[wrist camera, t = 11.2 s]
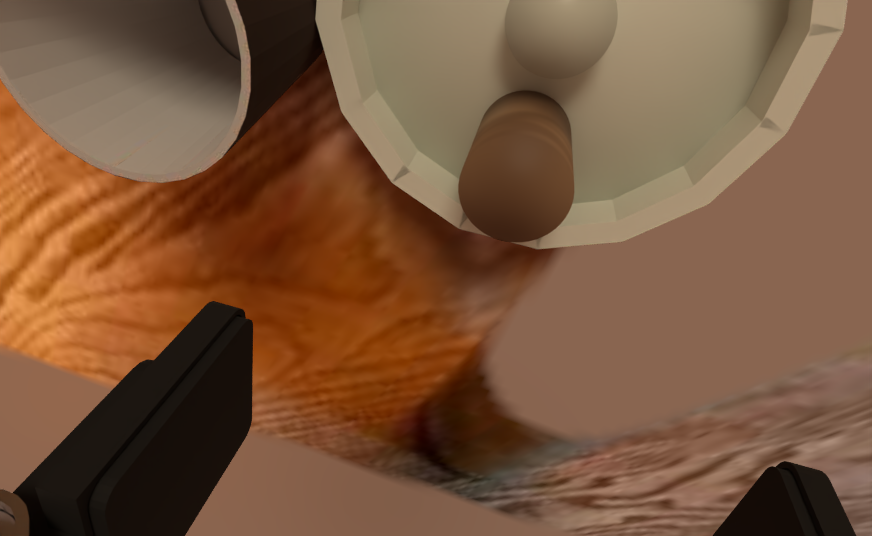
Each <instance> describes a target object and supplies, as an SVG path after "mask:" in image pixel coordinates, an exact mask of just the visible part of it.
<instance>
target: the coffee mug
mask: <svg viewBox="0 0 872 536" xmlns="http://www.w3.org/2000/svg"><path fill="white" fill-rule="evenodd" d="M316 3H317V0H0V79H1V80H2V82H3V84H4V85H5V86H6V88H7V89H8V90H9V92H10V93H11V95H12V96H13V97H14V99H15V100H16V101H17V103H18V104H19V105H20V107H21V108H22V109H23V110H24V111H25V112H26V113H27V114H28V115H29V116H30V118H31V119H32V120H33V121H34V122H35V123H36V124H37V125H38V126H39V127H40V128H41V129H42V130H43V131H44V132H45V133H46V134H48V135H49V136H50V137H51V138H52V139H54V140H55V141H56V142H57V143H59V144H60V145H61V146H62V147H64V148H65V149H66V150H67V151H69V152H71V153H72V154H74V155H75V156H77V157H79V158H80V159H82V160H84V161H85V162H87V163H88V164H90V165H92V166H94V167H97V168H99V169H101V170H104V171H106V172H108V173H111V174H113V175H115V176H119V177H123V178H127V179H131V180H135V181H140V182H157V183H165V182H171V181H177V180H184V179H187V178H189V177H191V176H194V175H196V174H199V173H201V172H203V171H205V170H207V169H208V168H209V167H210V166H212V165H213V164H214V163H216V162H217V161H218V160H220V159H221V158H222V157H223V156H224V155H225V154H226V153H227V152H228V151H229V150H230V149H231V148H232V147H233V146H234V145H235V144H236V142H237V141H238V140H239V139H240V138H241V137H242V136H243V135H244V134H245V133H246V132H247V131H248V130H249V129H250V128H251V127H252V126H253V125H254V124H255V123H256V122H257V121H258V120H259V119H260V117H261V116H262V115H263V114H264V113H265V112H266V111H267V110H268V109H269V108H270V107H271V106H272V105H273V104H274V103H275V102H276V101H277V100H278V99H279V98H280V97H281V96H282V95H283V94H284V92H285V91H286V90H287V89H288V88H289V87H290V86H291V85H292V84H293V83H294V82H295V81H296V80H297V79H298V78H299V77H300V76H301V75H302V74H303V73H304V72H305V71H306V70H307V69H308V67H309V66H310V65H311V64H312V63H313V62H314V61H315V60H316V59H317V57H318V56H319V55H320V54H321V52H322V51H323V49H324V48H323V45H322V41H321V38H320V34H319V31H318V27H317V23H316V20H315V18H316Z"/></svg>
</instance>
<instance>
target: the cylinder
mask: <svg viewBox="0 0 872 536" xmlns="http://www.w3.org/2000/svg"><path fill="white" fill-rule="evenodd" d="M458 193H459V200H460V203H461V206H462V209H463V211H464V213H465V214H466V216H467V218H468V219H469V220H470V222H471V223H472V224H473V225H474V226H475V227H476V228H478V229H479V230H480V231H481V232H483V233H485V234H486V235H488V236H490V237H492V238H495V239H498V240H501V241H506V242H528V241H532V240H536V239H539V238H541V237H543V236H545V235H547V234H549V233H550V232H552V231H553V230H555V229H556V228H557V227H558V226H559V225H560V224H561V223H562V222H563V220H564V219H565V218H566V216H567V215H568V213H569V211H570V209H571V206H572V203H573V199H574V171H573V154H572V137H571V127H570V122H569V119H568V117H567V115H566V113H565V111H564V110H563V108H562V107H561V106H560V105H559V104H558V103H557V102H556V101H555V100H554V99H552V98H551V97H549V96H547V95H545V94H543V93H540V92H536V91H530V90H522V91H516V92H512V93H509V94H506V95H504V96H502V97H501V98H499V99H498V100H496V101H495V102H494V103H493V104H492V105H491V106H490V107H489V108H488V109H487V111H486V112H485V114H484V116H483V118H482V120H481V123H480V125H479V128H478V130H477V133H476V135H475V138H474V140H473V143H472V146H471V148H470V151H469V153H468V156H467V158H466V161H465V163H464V166H463V168H462V171H461V174H460V177H459V184H458Z"/></svg>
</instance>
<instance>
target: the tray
mask: <svg viewBox="0 0 872 536" xmlns="http://www.w3.org/2000/svg"><path fill="white" fill-rule="evenodd" d="M847 1H848V0H317V3H316V18H315V20H316V23H317V27H318V31H319V34H320V38H321V41H322V45H323V48H324V52H325V55H326V59H327V62H328V66H329V70H330V73H331V77H332V80H333V84H334V87H335V91H336V94H337V98H338V101H339V105H340V109H341V112H342V114H343V115H344V116H345V118H346V119H347V121H348V122H349V123H350V125H351V126H352V128H353V129H354V130H355V132H356V133H357V135H358V136H359V137H360V139H361V140H362V142H363V143H364V144H365V146H366V147H367V149H368V150H369V151H370V153H371V154H372V156H373V157H374V158H375V160H376V161H377V163H378V164H379V165H380V167H381V168H382V170H383V171H384V172H385V174H386V175H387V177H388V178H389V179H390V181H391V182H392V183H393V184H394V185H396V186H397V187H399V188H400V189H402V190H403V191H405V192H406V193H408V194H409V195H410V196H412V197H413V198H415V199H416V200H418V201H419V202H421V203H422V204H424V205H425V206H426V207H428V208H429V209H431V210H432V211H434V212H435V213H437V214H438V215H440V216H441V217H442V218H444V219H445V220H447V221H448V222H450V223H451V224H453V225H454V226H456V227H457V228H458V229H461V230H465V231H469V232H473V233H477V234H481V235H485V236H488V235H486V234H485V233H483V232H481V231H480V230H479V229H478V228H476V227H475V226H474V225H473V224H472V223H471V222H470V220H469V219H468V218H467V216H466V214H465V213H464V211H463V209H462V206H461V203H460V200H459V193H458V184H459V177H460V174H461V171H462V168H463V166H464V163H465V161H466V158H467V156H468V153H469V151H470V148H471V146H472V143H473V140H474V138H475V135H476V133H477V130H478V128H479V125H480V123H481V120H482V118H483V116H484V114H485V112H486V111H487V109H488V108H489V107H490V106H491V105H492V104H493V103H494V102H495V101H496V100H498V99H499V98H501V97H502V96H504V95H506V94H509V93H512V92H516V91H522V90H530V91H536V92H540V93H543V94H545V95H547V96H549V97H551V98H552V99H554V100H555V101H556V102H557V103H558V104H559V105H560V106H561V107H562V108H563V110H564V111H565V113H566V115H567V117H568V119H569V122H570V127H571V137H572V154H573V171H574V199H573V203H572V206H571V209H570V211H569V213H568V215H567V216H566V218H565V219H564V220H563V222H562V223H561V224H560V225H559V226H558V227H557V228H556V229H555V230H553V231H552V232H550V233H549V234H547V235H545V236H543V237H541V238H539V239H536V240H532V241H528V242H512V243H515V244H519V245H523V246H527V247H531V248H535V249H546V248H558V247H569V246H581V245H591V244H592V245H593V244H604V243H615V242H623V241H626V240H628V239H630V238H633V237H635V236H637V235H640V234H642V233H644V232H646V231H648V230H651V229H653V228H656V227H658V226H660V225H662V224H665V223H667V222H669V221H671V220H674V219H676V218H678V217H680V216H683V215H685V214H687V213H689V212H691V211H694V210H696V209H699V208H701V207H703V206H706V205H708V204H709V203H710V202H712V201H713V200H714V199H715V198H716V197H717V196H718V195H719V194H720V193H722V191H724V190H725V189H726V188H727V187H728V186H729V185H730V184H731V183H732V182H734V181H735V180H736V179H737V178H738V177H739V176H740V175H741V174H742V173H744V172H745V171H746V170H747V169H748V168H749V167H750V166H751V165H752V164H754V163H755V162H756V161H757V160H758V159H759V158H760V157H761V156H762V155H763V154H764V153H766V152H767V151H768V150H769V149H770V148H771V147H772V146H773V145H774V144H776V143H777V142H778V141H779V140H780V139H781V138H782V137H783V136H784V135H786V133H787V132H788V130H789V128H790V127H791V125H792V123H793V121H794V119H795V117H796V116H797V114H798V112H799V110H800V108H801V107H802V105H803V103H804V101H805V99H806V97H807V96H808V94H809V92H810V90H811V88H812V87H813V85H814V83H815V81H816V79H817V77H818V76H819V74H820V72H821V70H822V68H823V67H824V65H825V63H826V61H827V59H828V58H829V56H830V54H831V52H832V50H833V48H834V46H835V45H836V43H837V41H838V39H839V38H840V36H841V34H842V32H843V30H844V23H845V16H846V8H847ZM488 237H490V236H488Z"/></svg>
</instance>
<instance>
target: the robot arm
mask: <svg viewBox="0 0 872 536" xmlns="http://www.w3.org/2000/svg"><path fill="white" fill-rule="evenodd" d="M252 364H253V322H252V320H249V319H246V318H245V312H244V310H242V309H240V308H236V307H233V306H229V305H225V304H222V303H218V302H215V301H212V302H209V303H208V304H207V305H206V306H205V307H204V308H203V309H202V310H201V311H200V312H199V313H198V314H197V315H196V316H195V317H194V318H193V319H192V320H191V322H190V323H189V324H188V325H187V326H186V327H185V328H184V329H183V330H182V331H181V332H180V333H179V334H178V335H177V336H176V338H175V339H174V340H173V341H172V342H171V343H170V344H169V345H168V346H167V347H166V348H165V349H164V350H163V351H162V352H161V353H160V355H159V356H158V357H157V358H156V359H155V360H145V361H143V362H140V363H139V364H138V365H137V366H136V367H134V368H133V369H132V370H131V371H130V372H129V373H128V374H127V375H126V376H125V377H124V378H123V379H122V380H121V382H120V383H119V384H118V385H117V386H116V387H115V388H114V389H113V390H112V391H111V392H110V393H109V394H108V395H107V396H106V397H105V398H104V399H103V400H102V401H101V402H100V403H99V404H98V405H97V406H96V407H95V408H94V410H92V412H90V413H89V415H88V416H87V417H86V418H85V419H84V420H83V421H82V422H81V423H80V424H79V425H78V426H77V427H76V428H75V429H74V430H73V431H72V432H71V433H70V434H69V435H68V436H67V437H66V438H65V439H64V440H63V441H62V442H61V444H59V446H58V447H57V448H56V449H55V450H54V451H53V452H52V453H51V454H50V455H49V456H48V457H47V458H46V459H45V460H44V461H43V462H42V463H41V464H40V465H39V466H38V467H37V468H36V469H35V470H34V471H33V472H32V473H31V474H30V476H28V477H27V478H26V480H25V481H24V482H23V483H22V484H21V485H20V486H19V487H18V488H17V489H16V490H15V491H14V492H13V493H11V492H8V491H6V490H3V489H0V536H185V535H186V533H187V531H188V530H189V528H190V526H191V525H192V523H193V522H194V520H195V518H196V517H197V515H198V514H199V512H200V510H201V509H202V507H203V506H204V504H205V502H206V501H207V499H208V497H209V496H210V494H211V492H212V491H213V489H214V488H215V486H216V485H217V483H218V481H219V480H220V478H221V477H222V475H223V473H224V472H225V470H226V468H227V467H228V465H229V464H230V462H231V460H232V459H233V457H234V456H235V454H236V452H237V451H238V449H239V448H240V446H241V444H242V442H243V441H244V439H245V438H246V436H247V434H248V431H249V429H250V426H251V421H252ZM713 536H856V534H855V532H854V530H853V528H852V526H851V524H850V522H849V520H848V518H847V515H846V513H845V511H844V509H843V507H842V505H841V503H840V501H839V499H838V496H837V494H836V492H835V490H834V488H833V486H832V484H831V482H830V480H829V478H828V477H827V475H826V474H825V473H823V472H822V471H819V470H816V469H812V468H809V467H805V466H802V465H798V464H794V463H791V462H786V461H784V462H781V463H780V464H778V465H777V466H776V467H773V466H772V467H769V468H767V469H766V470H765V471H764V473H763V474H762V475H761V476H760V478H759V479H758V480H757V481H756V483H755V484H754V485H753V486H752V488H751V489H750V490H749V491H748V493H747V494H746V495H745V496H744V497H743V499H742V500H741V501H740V502H739V504H738V505H737V506H736V507H735V509H734V510H733V511H732V512H731V514H730V515H729V516H728V517H727V519H726V520H725V521H724V522H723V523H722V525H721V526H720V527H719V528H718V530H717V531H716V532H715V533H714V535H713Z"/></svg>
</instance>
